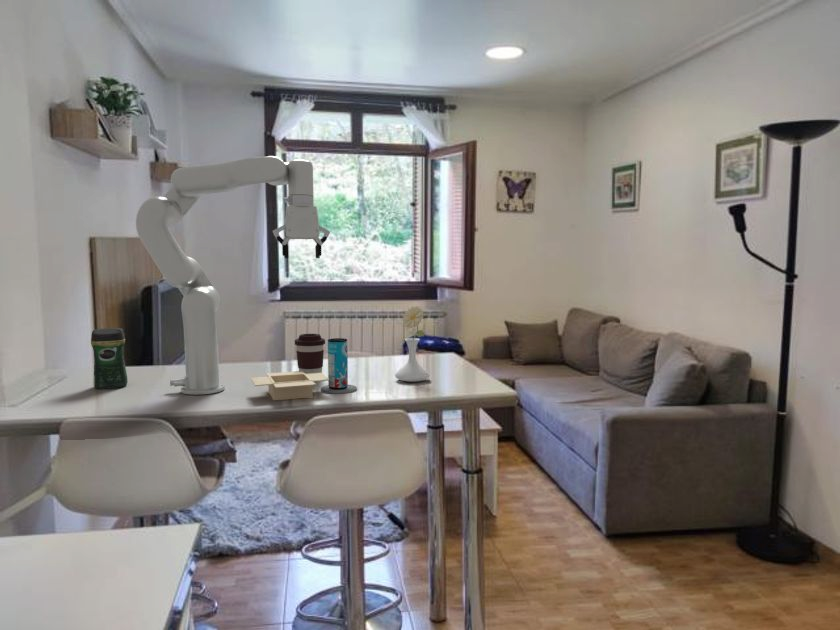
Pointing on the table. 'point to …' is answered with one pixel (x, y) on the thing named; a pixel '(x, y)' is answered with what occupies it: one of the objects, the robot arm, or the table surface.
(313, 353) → the coffee cup
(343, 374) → the beverage can
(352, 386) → the coaster
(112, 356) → the coffee jar
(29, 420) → the table surface
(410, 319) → the flower in vase
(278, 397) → the carton
